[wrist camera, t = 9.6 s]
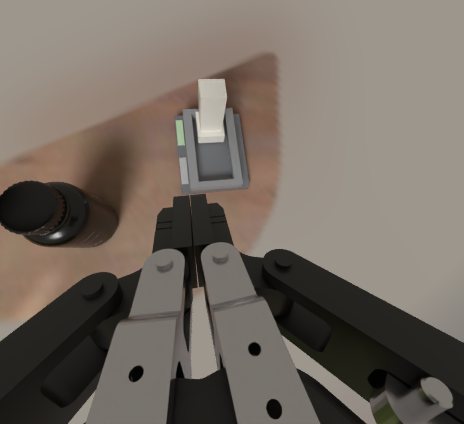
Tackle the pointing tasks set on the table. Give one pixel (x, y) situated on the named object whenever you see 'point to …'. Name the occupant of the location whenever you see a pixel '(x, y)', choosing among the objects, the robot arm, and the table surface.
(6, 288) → the table surface
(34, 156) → the table surface
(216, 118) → the block
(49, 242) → the supplement bottle
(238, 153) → the grey slotted stand
